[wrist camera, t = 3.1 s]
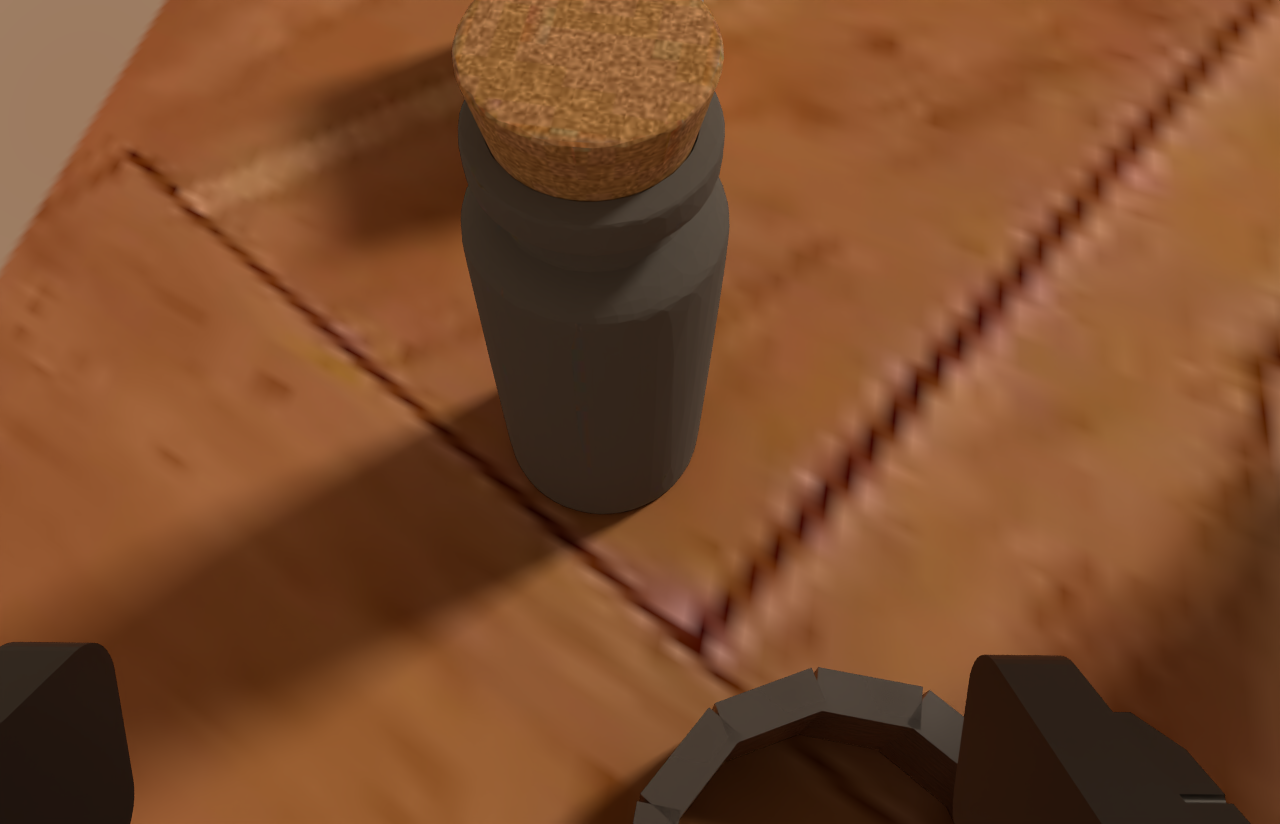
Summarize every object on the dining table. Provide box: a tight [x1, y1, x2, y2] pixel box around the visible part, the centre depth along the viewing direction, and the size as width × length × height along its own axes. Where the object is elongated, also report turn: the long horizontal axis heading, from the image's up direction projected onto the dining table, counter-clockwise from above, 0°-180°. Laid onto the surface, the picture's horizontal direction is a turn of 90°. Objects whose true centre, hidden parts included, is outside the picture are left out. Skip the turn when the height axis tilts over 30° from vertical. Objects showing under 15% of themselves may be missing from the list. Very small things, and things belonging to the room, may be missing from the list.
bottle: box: [452, 0, 729, 514], centre depth 23 cm, size 6×6×15 cm
